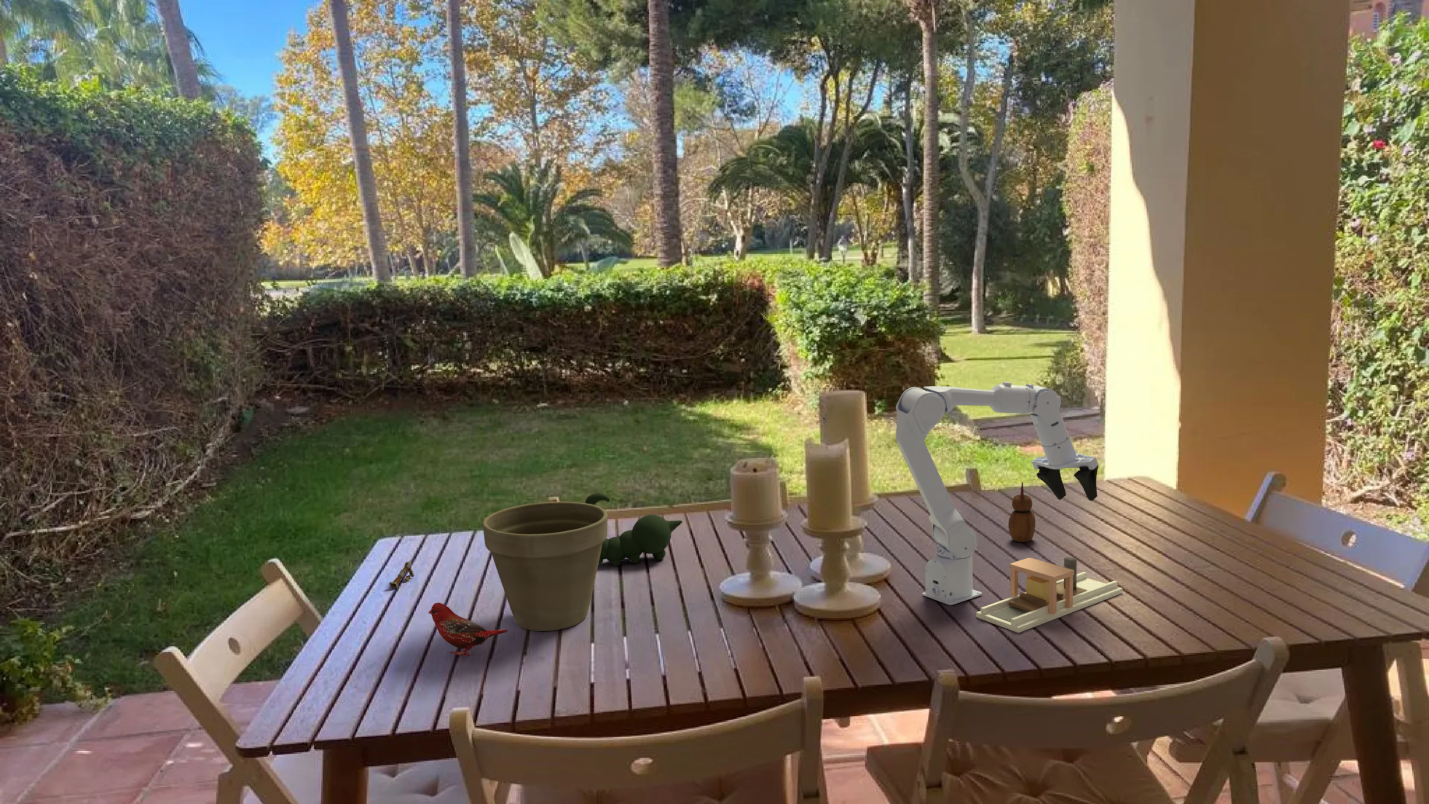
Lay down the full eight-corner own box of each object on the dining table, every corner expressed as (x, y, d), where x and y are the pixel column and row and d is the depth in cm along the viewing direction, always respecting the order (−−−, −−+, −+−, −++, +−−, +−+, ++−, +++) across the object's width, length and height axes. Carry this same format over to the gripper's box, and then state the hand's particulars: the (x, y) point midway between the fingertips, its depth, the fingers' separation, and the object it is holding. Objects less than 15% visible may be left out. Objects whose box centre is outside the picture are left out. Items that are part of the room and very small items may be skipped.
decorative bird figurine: (436, 648, 177) (431, 598, 176) (515, 659, 171) (511, 607, 169) (427, 655, 175) (422, 604, 173) (506, 665, 168) (502, 613, 167)
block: (1043, 603, 180) (1043, 583, 179) (1026, 597, 183) (1026, 578, 182) (1056, 598, 182) (1056, 579, 181) (1039, 593, 185) (1039, 573, 184)
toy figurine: (585, 579, 218) (689, 559, 222) (572, 502, 215) (678, 483, 219) (584, 567, 227) (684, 548, 231) (572, 492, 224) (673, 474, 228)
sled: (1033, 613, 177) (1033, 579, 176) (1009, 605, 182) (1008, 571, 181) (1087, 593, 186) (1087, 561, 185) (1062, 586, 190) (1062, 554, 189)
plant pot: (638, 608, 193) (632, 507, 190) (555, 652, 173) (547, 540, 170) (551, 589, 207) (544, 495, 204) (465, 628, 187) (455, 524, 184)
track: (1019, 633, 171) (1019, 589, 170) (975, 616, 180) (975, 574, 179) (1123, 593, 188) (1123, 553, 187) (1078, 580, 197) (1078, 541, 196)
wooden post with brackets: (418, 573, 221) (412, 558, 218) (401, 597, 214) (395, 582, 212) (412, 572, 221) (405, 558, 219) (395, 596, 215) (388, 582, 212)
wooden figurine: (1029, 545, 222) (1029, 484, 219) (1005, 542, 225) (1005, 482, 223) (1038, 538, 227) (1038, 478, 225) (1015, 535, 230) (1015, 476, 228)
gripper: (1096, 430, 186) (1118, 489, 189) (1037, 432, 199) (1059, 487, 201) (1076, 446, 183) (1099, 506, 186) (1018, 447, 195) (1040, 504, 198)
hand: (1077, 497), depth 193 cm, fingers open, 7 cm apart
